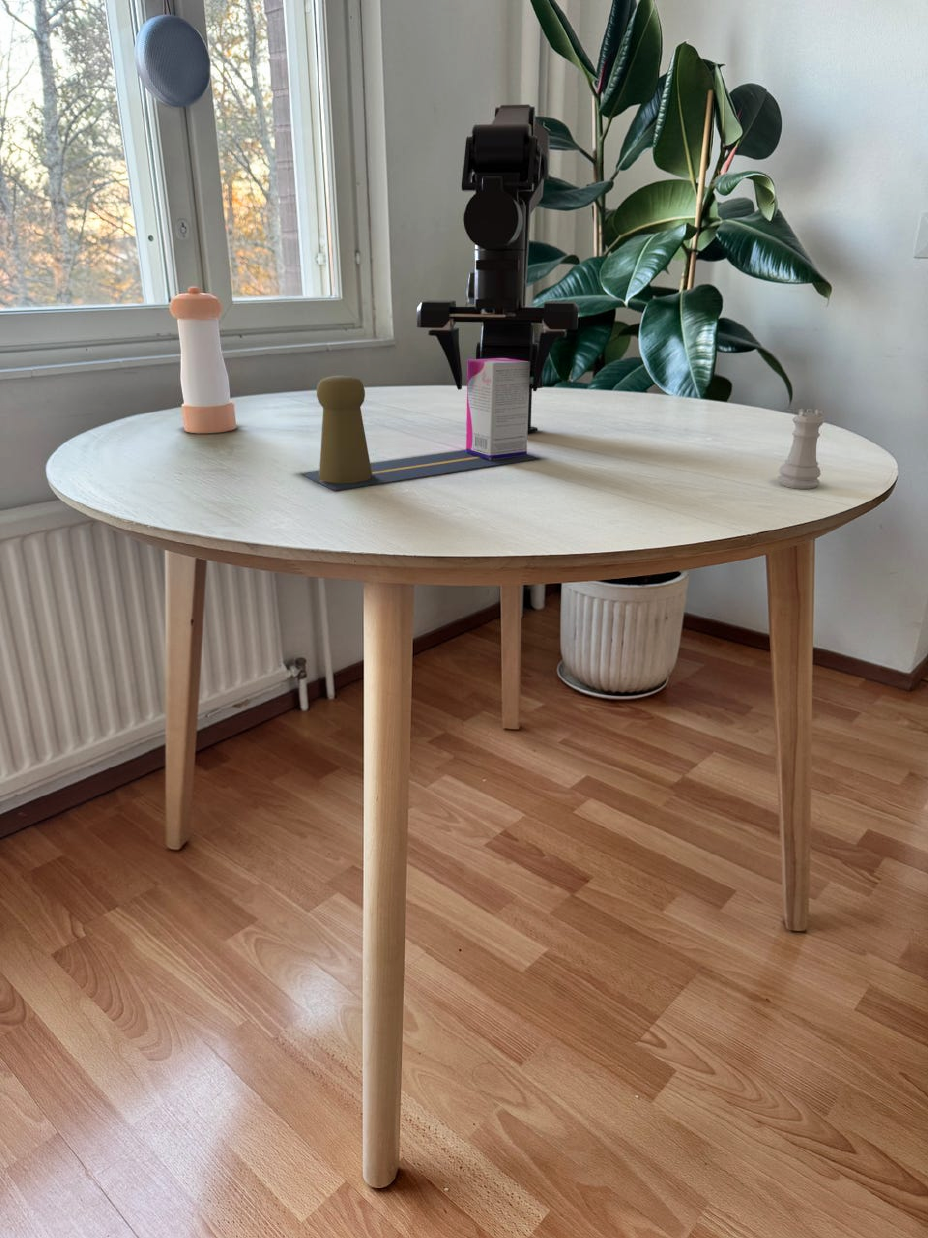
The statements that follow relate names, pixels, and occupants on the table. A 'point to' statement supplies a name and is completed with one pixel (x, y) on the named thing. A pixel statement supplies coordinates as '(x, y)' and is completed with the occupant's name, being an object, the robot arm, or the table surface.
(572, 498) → the table surface
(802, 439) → the rook chess piece
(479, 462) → the line mat
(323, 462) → the cork
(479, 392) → the supplement box
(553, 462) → the table surface
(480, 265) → the robot arm
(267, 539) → the table surface
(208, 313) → the salt shaker
